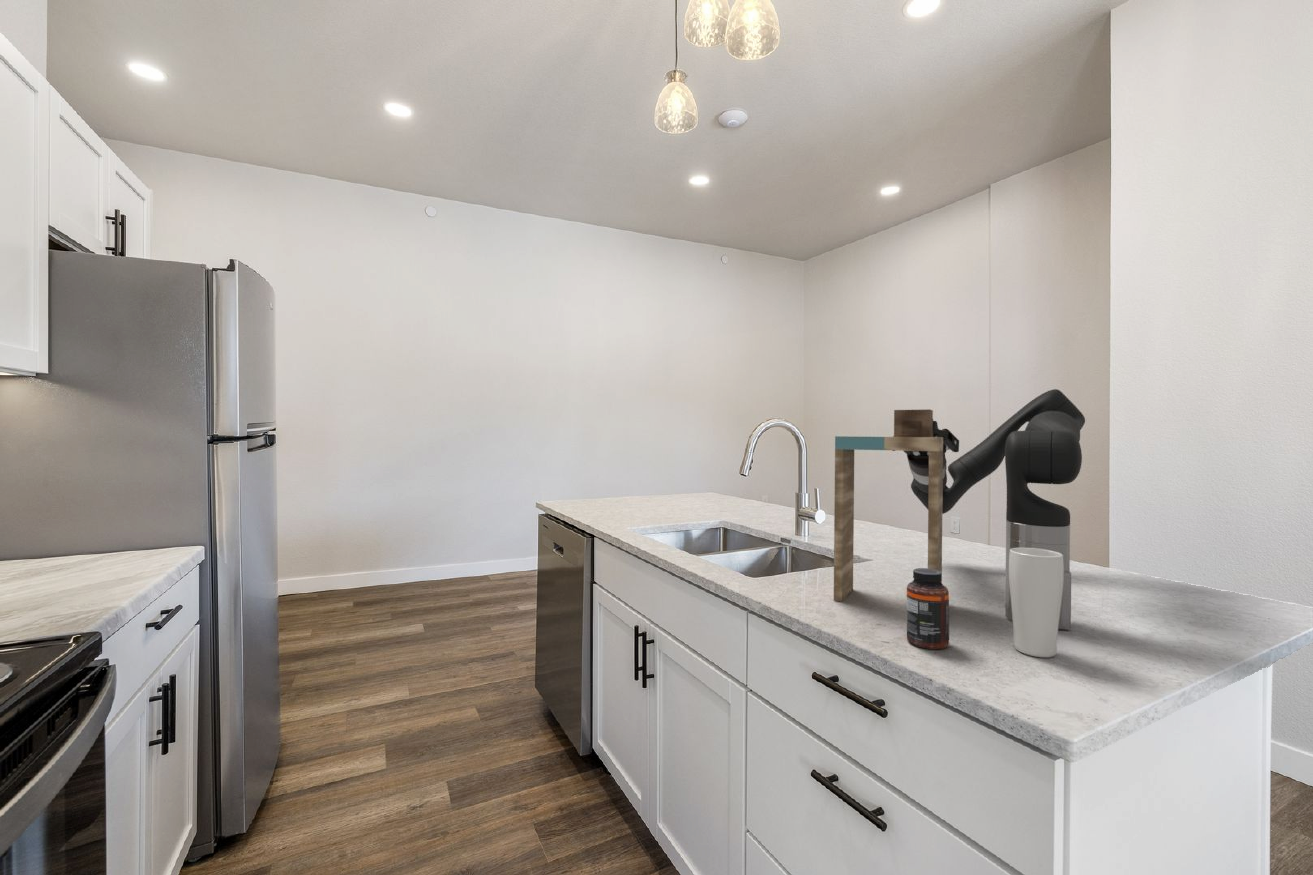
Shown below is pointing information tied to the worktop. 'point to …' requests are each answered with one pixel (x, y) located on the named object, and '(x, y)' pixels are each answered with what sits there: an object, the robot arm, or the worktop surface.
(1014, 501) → the robot arm
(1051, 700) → the worktop surface
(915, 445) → the oak stand
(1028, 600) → the white tall cup
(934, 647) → the supplement bottle
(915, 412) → the brown wooden block
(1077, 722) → the worktop surface
